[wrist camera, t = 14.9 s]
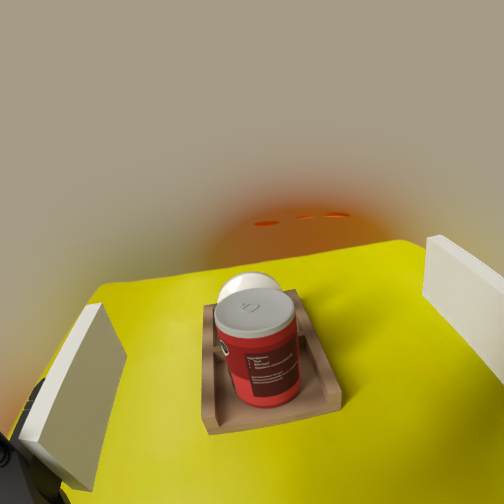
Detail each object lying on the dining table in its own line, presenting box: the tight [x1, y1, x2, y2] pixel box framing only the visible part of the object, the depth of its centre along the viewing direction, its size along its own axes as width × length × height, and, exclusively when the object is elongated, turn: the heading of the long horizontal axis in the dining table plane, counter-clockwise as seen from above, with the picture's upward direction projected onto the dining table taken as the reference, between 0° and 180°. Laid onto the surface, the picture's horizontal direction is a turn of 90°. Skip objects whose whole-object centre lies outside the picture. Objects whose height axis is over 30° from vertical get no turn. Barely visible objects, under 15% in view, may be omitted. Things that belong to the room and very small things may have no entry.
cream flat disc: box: [218, 272, 283, 303], centre depth 43 cm, size 1×9×9 cm, turn 96°
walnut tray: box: [201, 289, 342, 435], centre depth 40 cm, size 22×14×3 cm, turn 6°
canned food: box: [214, 288, 301, 409], centre depth 32 cm, size 8×8×11 cm
